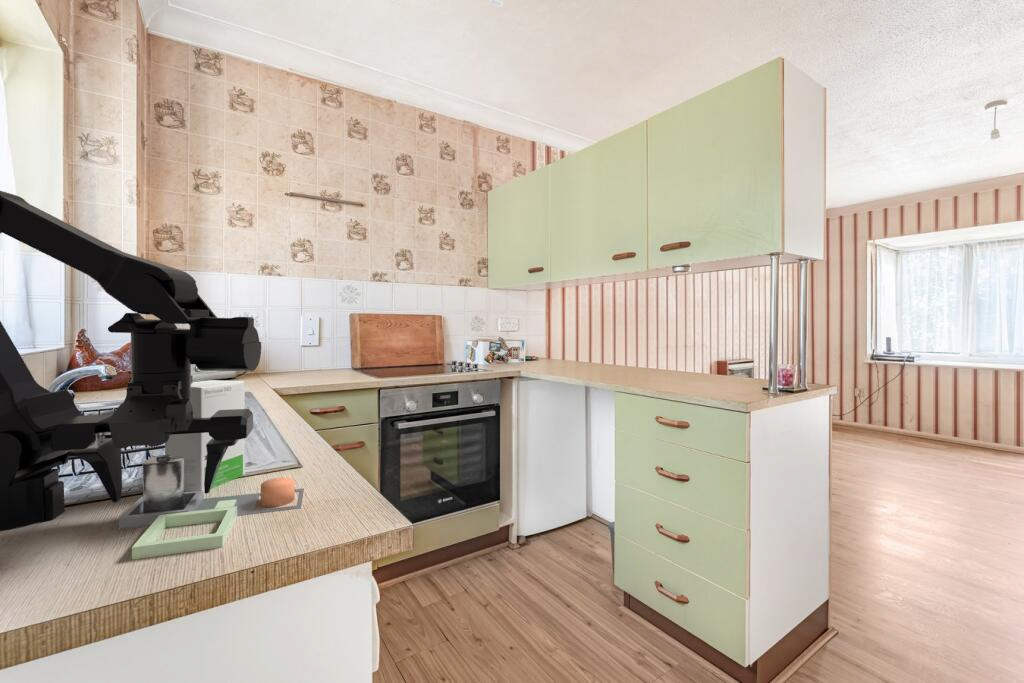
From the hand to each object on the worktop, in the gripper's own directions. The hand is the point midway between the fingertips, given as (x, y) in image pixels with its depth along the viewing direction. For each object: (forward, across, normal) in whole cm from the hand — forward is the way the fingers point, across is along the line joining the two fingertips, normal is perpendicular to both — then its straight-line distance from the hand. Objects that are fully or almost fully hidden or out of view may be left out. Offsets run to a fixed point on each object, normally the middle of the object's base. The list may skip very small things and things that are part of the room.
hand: (163, 496), depth 55 cm
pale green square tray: (+3, +5, -8) cm, 9 cm away
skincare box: (+3, +2, +11) cm, 12 cm away
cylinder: (+2, +13, 0) cm, 13 cm away
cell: (+2, 0, 0) cm, 2 cm away
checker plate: (+3, +6, 0) cm, 6 cm away
